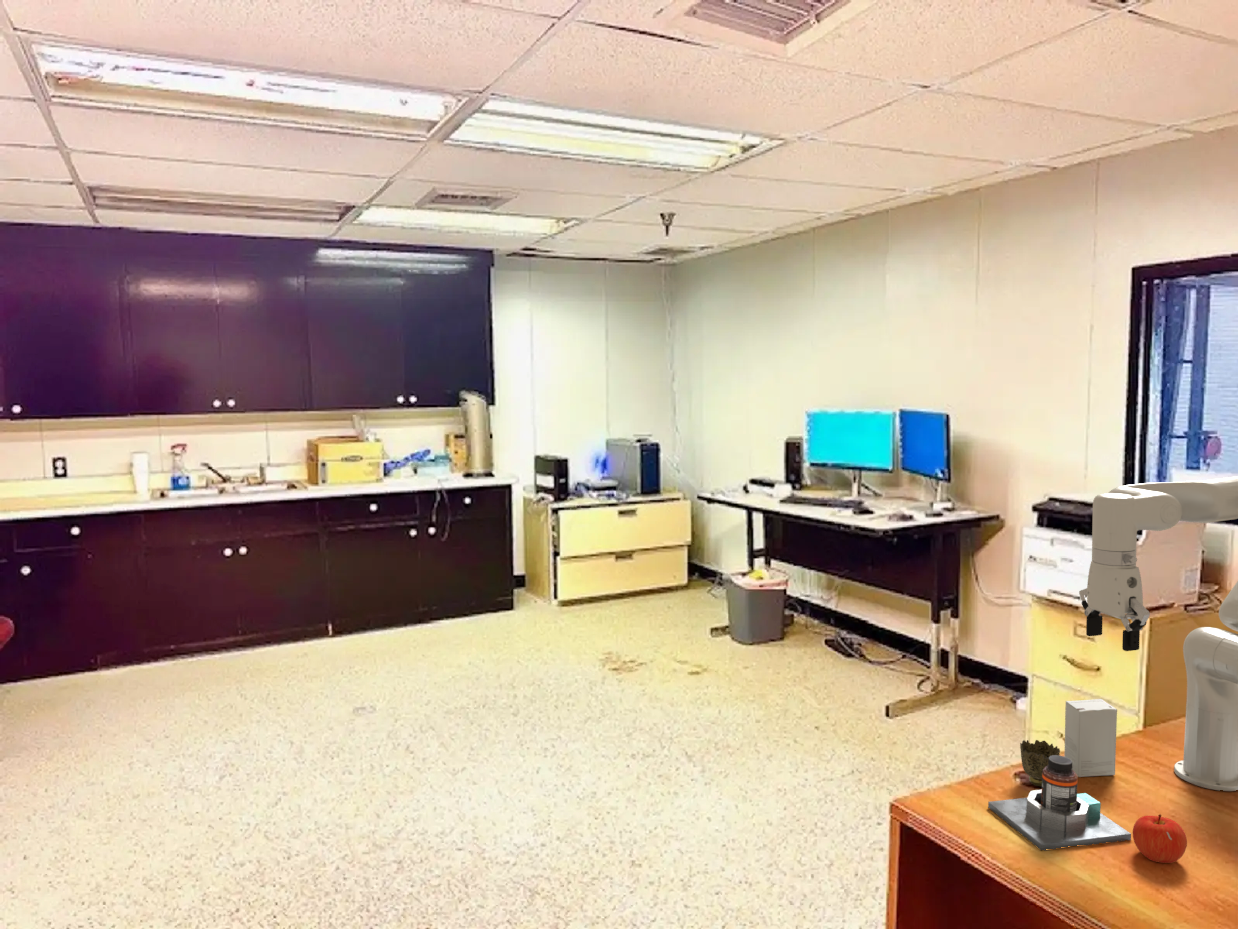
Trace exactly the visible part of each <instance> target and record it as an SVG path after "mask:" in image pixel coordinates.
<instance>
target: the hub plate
mask: <svg viewBox="0 0 1238 929" xmlns="http://www.w3.org/2000/svg"><path fill="white" fill-rule="evenodd" d="M1041 797H1042V789H1035V790H1030V792H1029V793H1028V796H1027V797H1020V798H1013V799H1011V798H1010V799H1002V800H994V801H993V800H992V801H988V809H989V808H990V809H989V810H990V811H992V812H993V813H994V814H996V815H997V816H998V817H999V818H1001V819H1002V821H1004V822H1005V821H1006V822H1005V823H1007V824H1008V825H1009V826H1011V827H1012V828H1013V829H1014V830H1015V829H1016V830H1015V831H1017V832H1018V833H1019V834H1020V835H1021V834H1022V836H1023V837H1024V838H1025V837H1026V838H1027V839H1026V838H1025V839H1026V840H1028V841H1029V842H1030V843H1031V842H1032V843H1031V844H1032V845H1033V846H1035V845H1036V846H1037V847H1038V848H1037V847H1036V846H1035V847H1036V848H1037V849H1039V851H1041V850H1044V851H1047V850H1046V849H1053V850H1057V849H1056V848H1061V847H1068V846H1077V845H1086V846H1093V845H1092V844H1094V845H1100V844H1099V843H1102V844H1107V843H1106V842H1111V843H1118V842H1117V841H1119V842H1124V841H1125V840H1127V841H1132V833H1131V832H1129V831H1128V830H1127V829H1125V828H1123V827H1122V826H1121V825H1119V824H1117V823H1116V822H1114V821H1113V820H1112V819H1110V818H1109V817H1107V816H1106V815H1104V814H1103V813H1101V806H1102V805H1101V804H1102V803H1101V802H1100V801H1098V800H1097V799H1095V798H1094V797H1093V796H1091V795H1089V794H1088V793H1086V792H1083V793H1077V809H1076V811H1073V812H1059V811H1055V810H1051V809H1047V808H1044V807H1043V806H1042V805H1041ZM1125 842H1126V841H1125ZM1061 849H1062V848H1061Z"/></svg>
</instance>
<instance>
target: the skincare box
mask: <svg viewBox="0 0 1238 929" xmlns="http://www.w3.org/2000/svg"><path fill="white" fill-rule="evenodd" d="M1064 713H1065V714H1064V715H1065V716H1064V717H1065V719H1064V720H1065V721H1064V724H1065V725H1064V755H1063V756H1064V757H1067V758H1069V759H1071V760H1072V767H1073V768H1072V770H1073V771H1074V772H1075V773H1076V774H1077V778H1081V777H1082V778H1083V777H1084V778H1085V777H1099V776H1101V777H1102V776H1115V775H1116V755H1117V754H1116V752H1117V751H1116V750H1117V749H1116V748H1117V728H1118V726H1117V724H1118V723H1117V721H1118V718H1117V716H1118V715H1117V714H1118V709H1117V708H1116V707H1115V706H1113V705H1111V704H1110V703H1108V702H1107V701H1105V700H1104V699H1102V698H1095V699H1094V698H1093V699H1082V700H1065V712H1064Z"/></svg>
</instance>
